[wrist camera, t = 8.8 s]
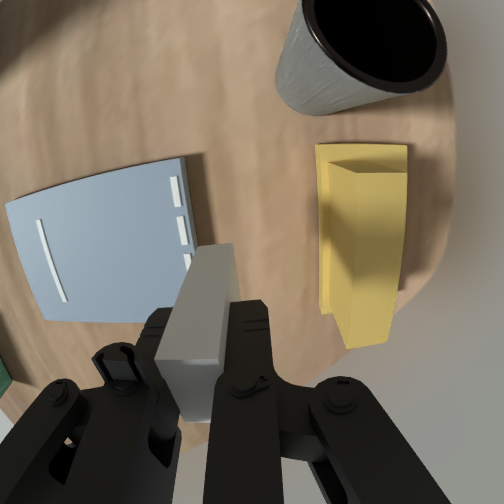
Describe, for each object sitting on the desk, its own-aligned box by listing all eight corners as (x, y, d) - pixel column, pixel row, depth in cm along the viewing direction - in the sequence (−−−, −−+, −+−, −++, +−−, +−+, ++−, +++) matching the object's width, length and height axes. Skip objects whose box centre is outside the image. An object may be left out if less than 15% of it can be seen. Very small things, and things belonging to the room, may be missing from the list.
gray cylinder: (284, 121, 15) (326, 98, 6) (267, 53, 14) (281, -41, 4) (355, 112, 15) (463, 97, 5) (339, 46, 13) (421, -28, 4)
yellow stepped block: (314, 144, 16) (345, 148, 10) (398, 144, 15) (454, 153, 10) (318, 304, 20) (338, 363, 14) (389, 295, 20) (423, 345, 14)
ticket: (13, 200, 17) (4, 204, 16) (184, 156, 16) (178, 158, 15) (50, 312, 21) (44, 320, 20) (210, 311, 20) (208, 321, 19)
